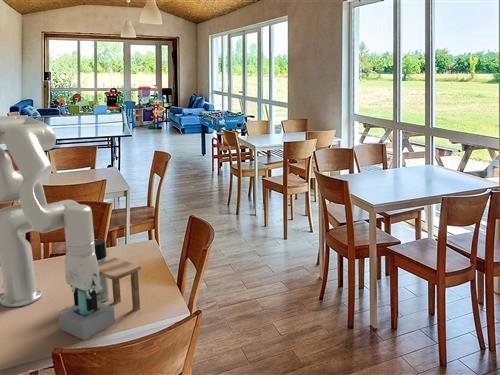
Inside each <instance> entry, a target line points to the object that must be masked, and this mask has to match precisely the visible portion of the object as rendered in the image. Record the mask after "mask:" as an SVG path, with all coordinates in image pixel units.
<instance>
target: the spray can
mask: <svg viewBox="0 0 500 375" xmlns="http://www.w3.org/2000/svg"><path fill="white" fill-rule="evenodd" d="M94 244H95V254H96V258H97V262H98V264H100V263H103V262H105V261H108V260H107V259H108V258H107V248H106V246H107V244H106V241H105V240H103V239H101V238H98V239H95V238H94ZM99 276H100V275H99ZM100 285H101V287H102V290H101V291H100V292H99V293H98V295H97V301H98V302H101V303H103V304H104V303H106V302H107V301H108V300H109V299H110V287H109V278H106V277H103V276H100ZM92 291H93V289H92Z"/></svg>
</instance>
